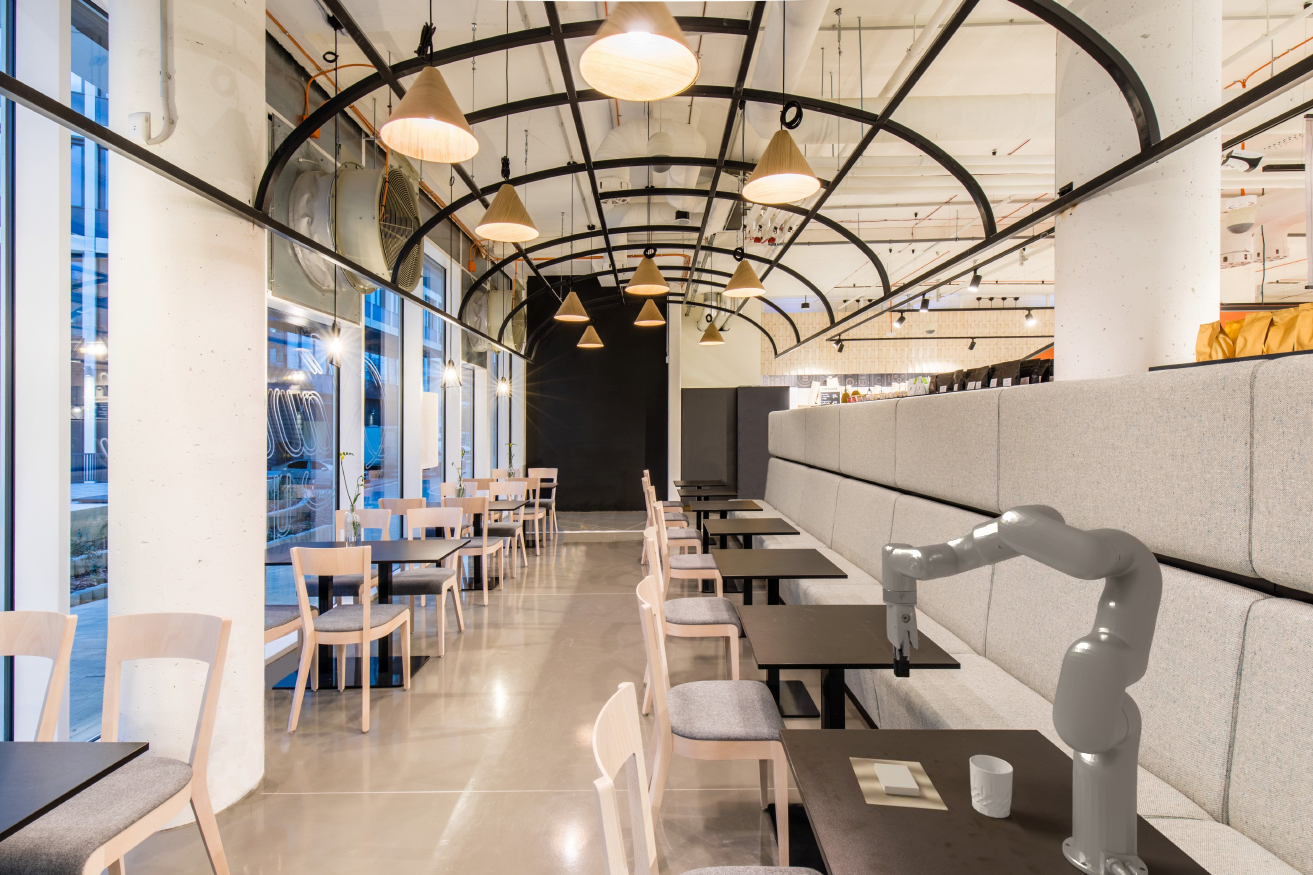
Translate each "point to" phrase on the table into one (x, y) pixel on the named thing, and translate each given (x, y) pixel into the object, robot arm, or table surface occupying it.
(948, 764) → the table surface
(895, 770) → the tile
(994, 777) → the white cup
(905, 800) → the board
